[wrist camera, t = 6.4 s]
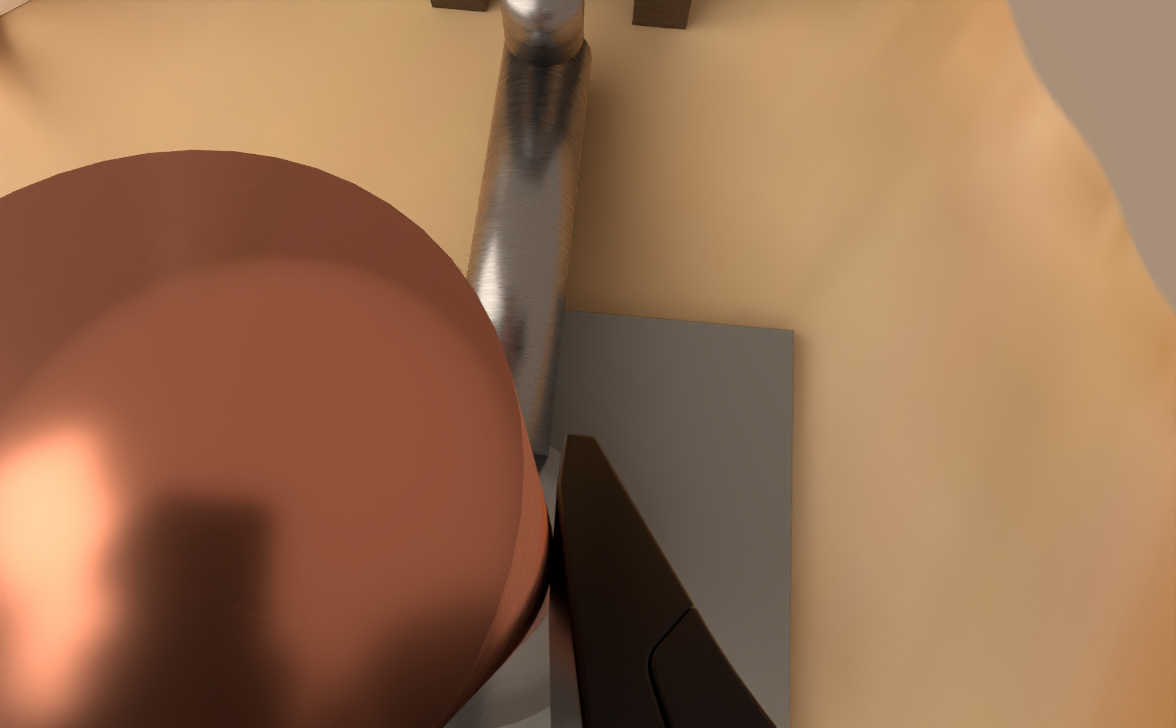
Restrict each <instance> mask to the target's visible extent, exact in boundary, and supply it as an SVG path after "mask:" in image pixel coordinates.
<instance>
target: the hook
mask: <svg viewBox="0 0 1176 728" xmlns="http://www.w3.org/2000/svg"><path fill="white" fill-rule="evenodd" d="M584 2H585V0H501V8H502V17H503V26H504V34H505V43H504V49H503V55H502V61H501V67H500V74H499V80H498V86H497V92H496V98H495V105H494V111H493V117H492V123H491V129H490V135H489V142H488V148H487V154H486V160H485V166H484V172H483V179H482V185H481V191H480V197H479V203H478V210H477V216H476V222H475V228H474V234H473V240H472V247H471V253H470V259H469V265H468V271H467V278H465V277H464V275H463V274H462V273H461V271H460V270H459V269H458V267H457V266H456V265H455V263H454V262H453V260H452V259H451V258H450V257H449V256H448V255H447V254H446V253H445V252H444V251H443V250H442V249H441V248H440V247H439V246H438V245H437V244H436V243H435V242H434V241H433V240H432V238H431V237H430V236H429V235H428V234H427V233H426V232H425V231H424V230H423V229H422V228H420V227H419V226H418V225H416V224H415V223H414V222H412V221H411V220H410V219H409V218H407V217H406V216H405V215H403V214H402V213H401V212H399V211H398V210H397V209H396V208H394V207H393V206H392V205H390V204H389V203H387V202H385V201H383V200H382V199H380V198H378V197H376V196H375V195H373V194H371V193H369V192H368V191H366V190H364V189H362V188H361V187H359V186H357V185H356V184H353V183H351V182H349V181H346V180H344V179H341V178H339V177H336V176H334V175H332V174H329V173H327V172H324V171H322V170H319V169H317V168H313V167H310V166H306V165H302V164H299V163H295V162H291V161H288V160H284V159H280V158H276V157H269V156H263V155H256V154H249V153H242V152H236V151H208V150H185V151H171V152H158V153H147V154H141V155H135V156H130V157H124V158H119V159H113V160H107V161H102V162H99V163H95V164H92V165H88V166H85V167H81V168H78V169H74V170H71V171H67V172H64V173H60V174H57V175H55V176H52V177H50V178H47V179H44V180H42V181H39V182H37V183H34V184H32V185H29V186H27V187H24V188H22V189H19V190H16V191H14V192H12V193H10V194H8V195H6V196H4V197H2V198H0V728H499V727H502V726H506V725H510V724H513V723H517V722H519V721H522V720H524V719H526V718H529V717H531V716H533V715H536V714H537V713H539V712H541V711H542V710H544V709H546V708H547V707H549V706H550V659H549V590H550V576H551V565H552V547H553V533H554V519H555V505H556V490H557V480H558V473H559V467H560V461H561V454H562V453H561V452H559V451H558V450H556V449H554V448H553V447H551V446H550V439H551V430H552V420H553V411H554V402H555V393H556V384H557V374H558V365H559V356H560V347H561V337H562V328H563V319H564V310H565V300H566V291H567V282H568V273H569V264H570V254H571V245H572V236H573V227H574V217H575V208H576V199H577V190H578V180H579V171H580V162H581V153H582V143H583V134H584V125H585V116H586V107H587V97H588V88H589V79H590V70H591V60H592V55H591V50H590V47H589V45H588V43H587V42H586V40H585V39H584Z"/></svg>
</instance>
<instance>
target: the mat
mask: <svg viewBox="0 0 1176 728" xmlns="http://www.w3.org/2000/svg"><path fill="white" fill-rule="evenodd" d="M792 417H793V331H792V330H781V329H770V328H759V327H748V326H737V325H726V324H715V323H704V322H692V321H681V320H670V319H659V318H648V317H637V316H626V315H615V314H604V313H592V312H581V311H570V310H564V319H563V328H562V337H561V347H560V356H559V365H558V374H557V384H556V393H555V402H554V411H553V420H552V430H551V439H550V446H551V447H553V448H554V449H556V450H558V451H559V452H561V453H562V448H563V442H564V437H565V436H566V435H568V434H577V435H588V436H594V437H595V438H596V439H597V440H598V442H599V444H600V445H601V447H602V449H603V450H604V452H605V454H606V455H607V457H608V459H609V460H610V462H611V464H612V466H613V467H614V469H615V471H616V472H617V474H618V476H619V477H620V479H621V481H622V483H623V484H624V486H625V488H626V489H627V491H628V493H629V494H630V496H631V498H632V499H633V501H634V503H635V505H636V506H637V508H638V510H639V511H640V513H641V515H642V516H643V518H644V520H645V521H646V523H647V525H648V527H649V528H650V530H651V532H652V533H653V535H654V537H655V538H656V540H657V542H658V544H659V545H660V547H661V549H662V550H663V552H664V554H665V555H666V557H667V559H668V560H669V562H670V564H671V566H672V567H673V569H674V571H675V572H676V574H677V576H678V577H679V579H680V581H681V582H682V584H683V586H684V588H685V589H686V591H687V593H688V594H689V596H690V598H691V599H692V601H693V603H694V608H697V609H698V611H699V612H700V614H701V616H702V618H703V619H704V621H705V623H706V624H707V626H708V628H709V630H710V631H711V633H712V635H713V636H714V638H715V639H716V641H717V642H718V644H719V646H720V647H721V649H722V650H723V652H724V653H725V655H726V657H727V658H728V660H729V661H730V663H731V664H732V666H733V668H734V669H735V671H736V672H737V673H738V675H739V676H740V677H741V679H742V680H743V682H744V683H745V684H746V686H747V687H748V688H749V690H750V691H751V693H752V694H753V695H754V697H755V698H756V699H757V701H758V702H759V704H760V705H761V706H762V708H763V709H764V710H765V712H766V713H767V714H768V716H769V717H770V718H771V720H772V721H773V722H774V724H775V725H776V726H777V727H778V728H789V682H790V593H791V505H792ZM499 728H551V713H550V706H549V707H547V708H546V709H544V710H542V711H541V712H539V713H537V714H536V715H533V716H531V717H529V718H526V719H524V720H522V721H519V722H517V723H513V724H510V725H506V726H502V727H499Z"/></svg>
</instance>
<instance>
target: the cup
mask: <svg viewBox="0 0 1176 728" xmlns="http://www.w3.org/2000/svg"><path fill="white" fill-rule="evenodd" d="M28 1H30V0H0V16H1V15H3V14H5V13H7V12H8V11H10V10H12V9H14V8H16V7H18V6H20V5H22V4H24V3H26V2H28Z"/></svg>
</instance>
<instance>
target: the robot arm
mask: <svg viewBox="0 0 1176 728" xmlns="http://www.w3.org/2000/svg"><path fill="white" fill-rule="evenodd" d="M549 659H550V713H551V728H778V727H777V726H776V725H775V724H774V722H773V721H772V720H771V718H770V717H769V716H768V714H767V713H766V712H765V710H764V709H763V708H762V706H761V705H760V704H759V702H758V701H757V699H756V698H755V697H754V695H753V694H752V693H751V691H750V690H749V688H748V687H747V686H746V684H745V683H744V682H743V680H742V679H741V677H740V676H739V675H738V673H737V672H736V671H735V669H734V668H733V666H732V664H731V663H730V661H729V660H728V658H727V657H726V655H725V653H724V652H723V650H722V649H721V647H720V646H719V644H718V642H717V641H716V639H715V638H714V636H713V635H712V633H711V631H710V630H709V628H708V626H707V624H706V623H705V621H704V619H703V618H702V616H701V614H700V612H699V611H698V609H697V608H694V603H693V601H692V599H691V598H690V596H689V594H688V593H687V591H686V589H685V588H684V586H683V584H682V582H681V581H680V579H679V577H678V576H677V574H676V572H675V571H674V569H673V567H672V566H671V564H670V562H669V560H668V559H667V557H666V555H665V554H664V552H663V550H662V549H661V547H660V545H659V544H658V542H657V540H656V538H655V537H654V535H653V533H652V532H651V530H650V528H649V527H648V525H647V523H646V521H645V520H644V518H643V516H642V515H641V513H640V511H639V510H638V508H637V506H636V505H635V503H634V501H633V499H632V498H631V496H630V494H629V493H628V491H627V489H626V488H625V486H624V484H623V483H622V481H621V479H620V477H619V476H618V474H617V472H616V471H615V469H614V467H613V466H612V464H611V462H610V460H609V459H608V457H607V455H606V454H605V452H604V450H603V449H602V447H601V445H600V444H599V442H598V440H597V439H596V438H595V437H594V436H588V435H577V434H568V435H566V436H565V437H564V442H563V448H562V454H561V461H560V467H559V473H558V480H557V490H556V505H555V519H554V533H553V547H552V565H551V576H550V590H549Z"/></svg>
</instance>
